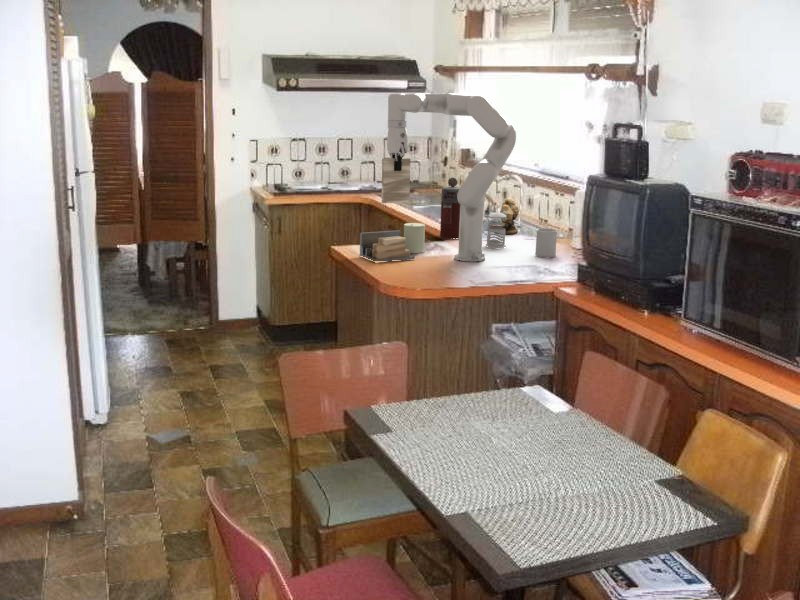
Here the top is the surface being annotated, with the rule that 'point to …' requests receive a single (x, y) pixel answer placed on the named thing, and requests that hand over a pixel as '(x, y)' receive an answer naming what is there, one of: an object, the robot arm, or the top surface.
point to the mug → (546, 243)
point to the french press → (496, 231)
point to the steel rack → (373, 238)
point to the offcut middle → (388, 248)
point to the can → (414, 237)
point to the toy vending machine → (450, 210)
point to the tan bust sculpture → (509, 216)
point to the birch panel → (395, 181)
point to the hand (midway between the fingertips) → (396, 170)
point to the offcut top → (392, 241)
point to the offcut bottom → (391, 254)
